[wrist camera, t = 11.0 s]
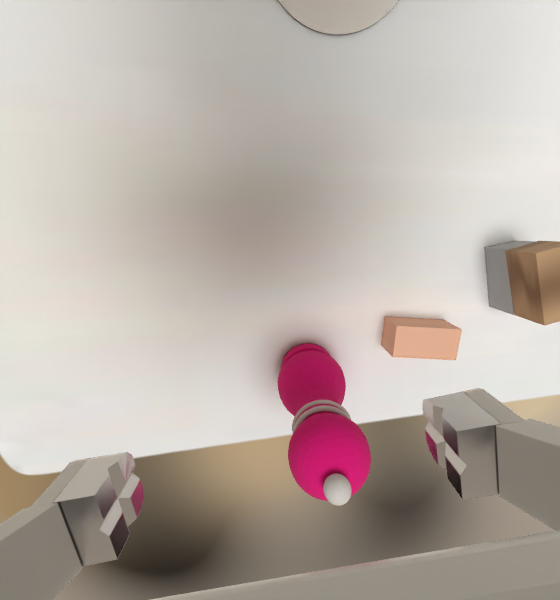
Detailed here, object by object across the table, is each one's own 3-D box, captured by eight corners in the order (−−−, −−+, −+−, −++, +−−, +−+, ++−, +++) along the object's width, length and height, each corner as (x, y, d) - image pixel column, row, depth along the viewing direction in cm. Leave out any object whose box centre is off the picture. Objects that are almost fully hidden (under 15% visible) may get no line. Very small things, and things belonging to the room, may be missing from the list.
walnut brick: (505, 250, 33) (535, 253, 30) (539, 240, 33) (574, 242, 29) (514, 314, 35) (544, 325, 31) (546, 305, 35) (581, 315, 31)
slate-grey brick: (483, 247, 37) (508, 249, 33) (514, 240, 37) (543, 242, 33) (488, 306, 39) (512, 314, 35) (518, 299, 39) (545, 307, 35)
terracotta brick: (380, 344, 40) (392, 356, 36) (384, 316, 39) (396, 325, 35) (438, 347, 40) (455, 360, 36) (442, 319, 39) (461, 329, 35)
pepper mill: (342, 344, 39) (411, 457, 20) (330, 398, 41) (382, 555, 21) (283, 334, 39) (293, 439, 19) (272, 389, 40) (271, 540, 21)
